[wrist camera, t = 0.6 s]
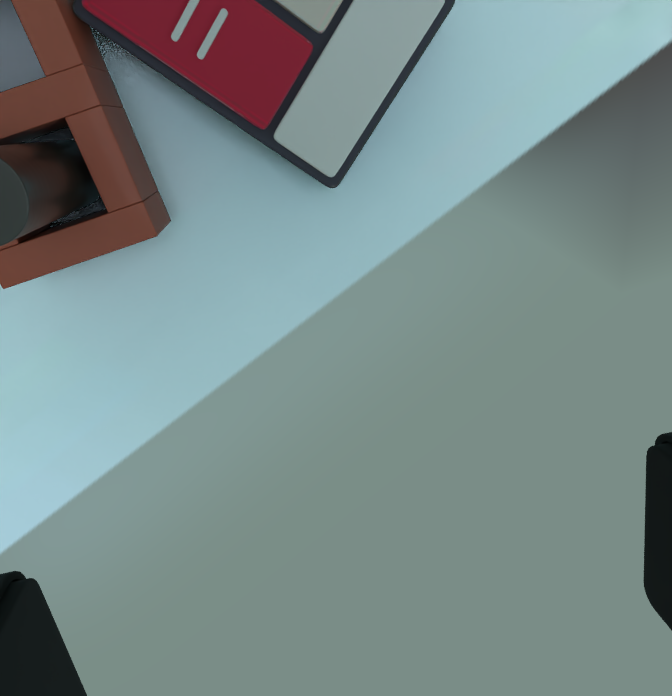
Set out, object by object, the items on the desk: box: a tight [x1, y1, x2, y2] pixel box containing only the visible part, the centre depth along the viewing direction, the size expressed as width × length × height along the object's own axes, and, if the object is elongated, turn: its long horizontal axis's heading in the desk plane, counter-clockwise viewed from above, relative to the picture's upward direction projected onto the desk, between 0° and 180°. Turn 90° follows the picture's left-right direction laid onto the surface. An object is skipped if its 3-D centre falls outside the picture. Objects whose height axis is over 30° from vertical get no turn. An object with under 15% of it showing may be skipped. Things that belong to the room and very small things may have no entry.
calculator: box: [72, 0, 455, 188], centre depth 30 cm, size 11×4×15 cm
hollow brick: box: [0, 0, 171, 289], centre depth 30 cm, size 15×8×5 cm, turn 18°
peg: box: [0, 140, 100, 246], centre depth 28 cm, size 4×4×12 cm
